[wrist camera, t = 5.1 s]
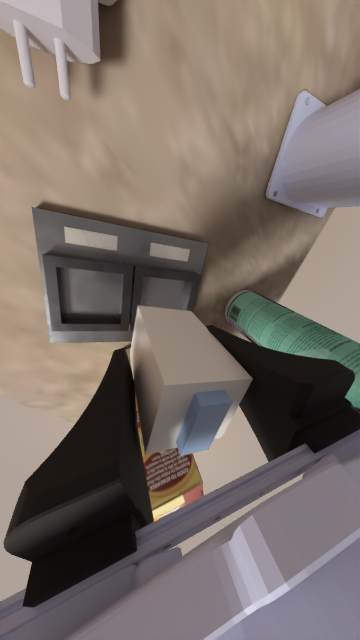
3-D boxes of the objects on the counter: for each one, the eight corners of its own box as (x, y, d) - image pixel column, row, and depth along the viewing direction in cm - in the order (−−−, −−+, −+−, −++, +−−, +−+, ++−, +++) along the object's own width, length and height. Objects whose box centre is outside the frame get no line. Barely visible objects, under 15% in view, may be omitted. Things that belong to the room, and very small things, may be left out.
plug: (191, 311, 13) (262, 389, 7) (178, 354, 15) (228, 449, 9) (137, 305, 12) (170, 399, 6) (129, 354, 13) (147, 471, 7)
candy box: (119, 349, 22) (132, 522, 9) (152, 339, 23) (205, 484, 10) (136, 394, 27) (161, 551, 14) (164, 384, 28) (210, 523, 15)
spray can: (228, 330, 27) (420, 508, 10) (220, 301, 24) (473, 486, 7) (259, 313, 27) (491, 456, 11) (254, 282, 24) (569, 415, 8)
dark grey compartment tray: (205, 243, 19) (214, 244, 18) (183, 336, 24) (188, 345, 23) (35, 207, 14) (25, 206, 12) (52, 338, 19) (47, 350, 17)
